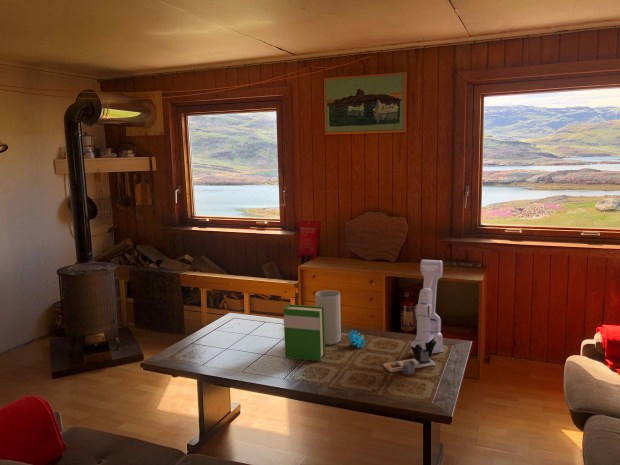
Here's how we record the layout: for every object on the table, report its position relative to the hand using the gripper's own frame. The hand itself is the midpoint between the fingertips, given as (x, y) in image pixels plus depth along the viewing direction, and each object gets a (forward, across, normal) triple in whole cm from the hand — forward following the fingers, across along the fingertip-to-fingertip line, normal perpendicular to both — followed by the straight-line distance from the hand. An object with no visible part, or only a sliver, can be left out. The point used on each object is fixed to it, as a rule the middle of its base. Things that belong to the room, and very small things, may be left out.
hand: (423, 358), depth 232 cm
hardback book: (+3, +36, -42) cm, 55 cm away
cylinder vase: (+3, +14, -50) cm, 52 cm away
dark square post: (+2, 0, 0) cm, 2 cm away
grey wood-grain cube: (+2, +13, +3) cm, 13 cm away
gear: (+3, +8, -35) cm, 36 cm away
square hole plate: (+2, +6, -2) cm, 7 cm away
